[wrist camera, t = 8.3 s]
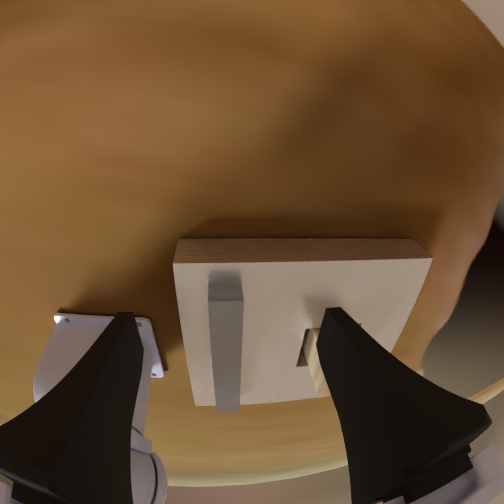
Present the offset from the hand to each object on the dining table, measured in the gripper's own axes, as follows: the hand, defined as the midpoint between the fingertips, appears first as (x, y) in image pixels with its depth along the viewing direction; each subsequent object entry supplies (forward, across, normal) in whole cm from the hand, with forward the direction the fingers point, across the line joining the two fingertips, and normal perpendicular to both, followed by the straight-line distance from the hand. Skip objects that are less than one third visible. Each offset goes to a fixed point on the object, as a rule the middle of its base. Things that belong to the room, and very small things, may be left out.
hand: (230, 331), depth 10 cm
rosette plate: (+9, -6, +9) cm, 14 cm away
